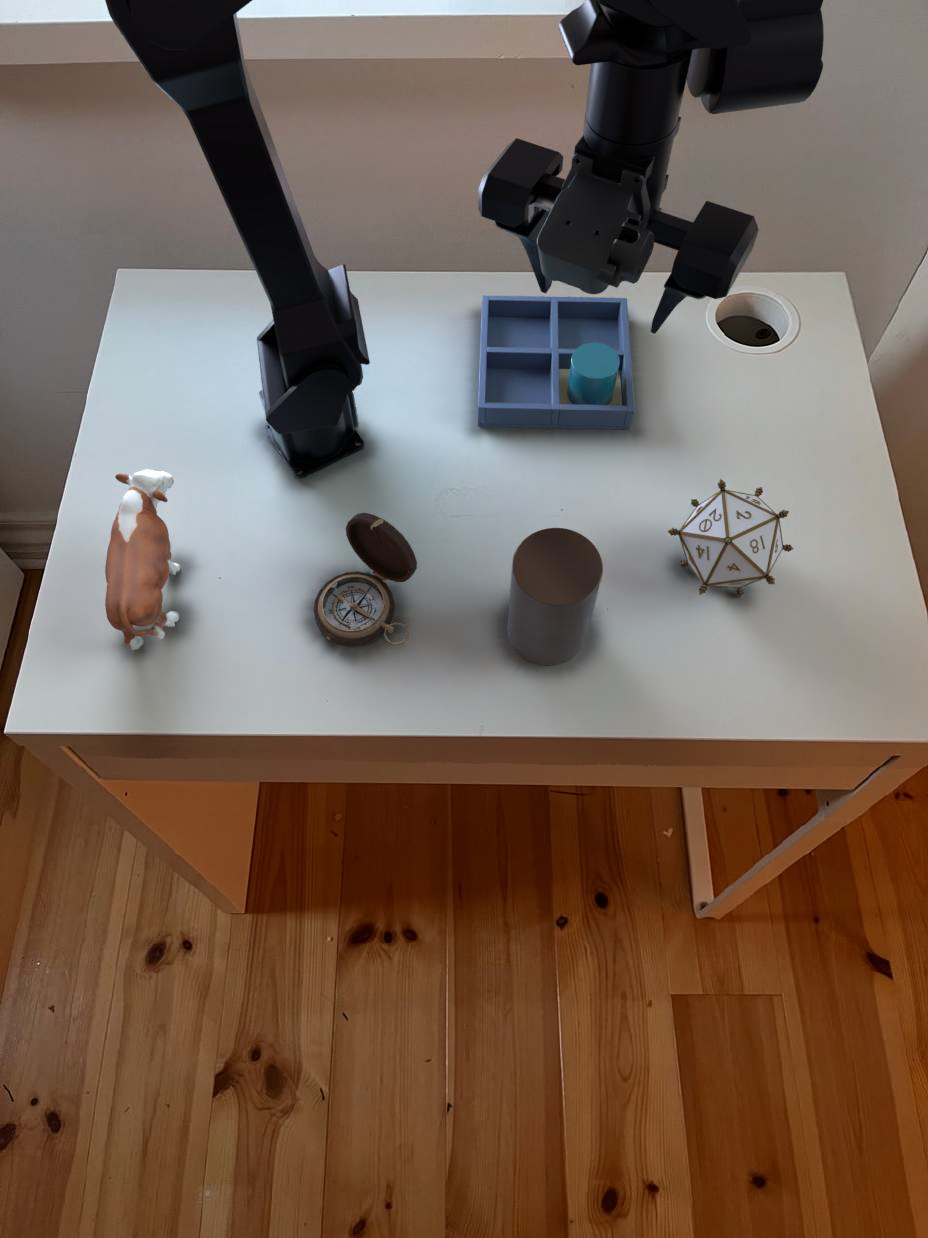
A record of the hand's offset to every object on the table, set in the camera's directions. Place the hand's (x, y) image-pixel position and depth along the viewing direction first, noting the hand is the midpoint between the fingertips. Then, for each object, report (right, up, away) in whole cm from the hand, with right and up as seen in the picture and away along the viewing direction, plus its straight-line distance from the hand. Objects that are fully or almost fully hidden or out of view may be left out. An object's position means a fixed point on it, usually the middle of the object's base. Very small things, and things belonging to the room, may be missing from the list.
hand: (599, 309), depth 69 cm
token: (0, -4, +8) cm, 9 cm away
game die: (+9, -20, +1) cm, 22 cm away
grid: (-3, -2, +10) cm, 11 cm away
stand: (-4, -25, -1) cm, 25 cm away
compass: (-18, -23, 0) cm, 29 cm away
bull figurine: (-34, -22, +1) cm, 40 cm away
